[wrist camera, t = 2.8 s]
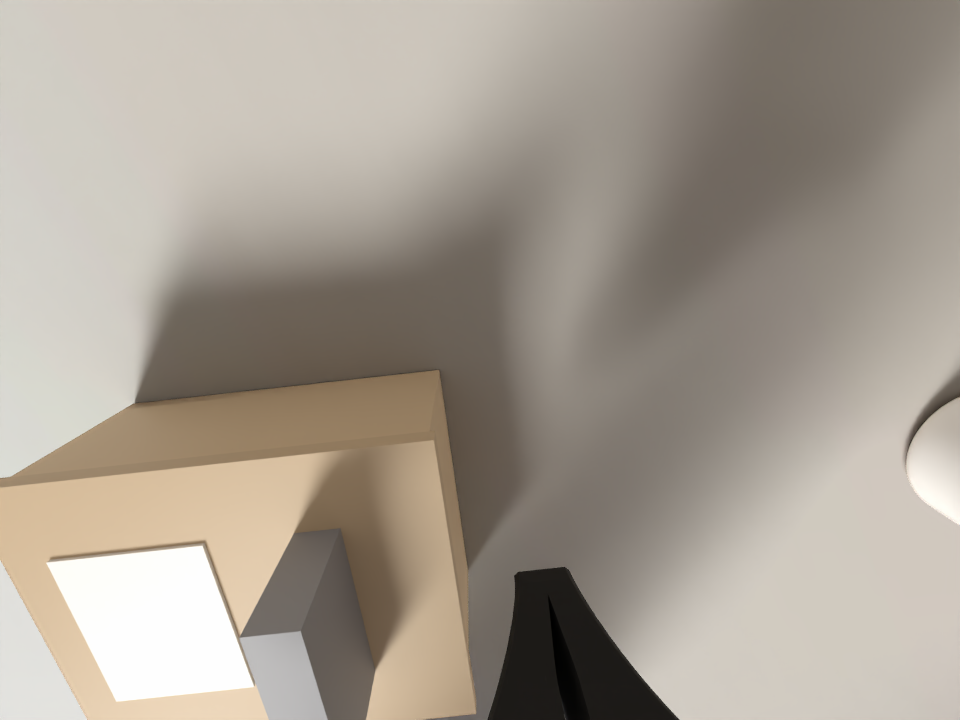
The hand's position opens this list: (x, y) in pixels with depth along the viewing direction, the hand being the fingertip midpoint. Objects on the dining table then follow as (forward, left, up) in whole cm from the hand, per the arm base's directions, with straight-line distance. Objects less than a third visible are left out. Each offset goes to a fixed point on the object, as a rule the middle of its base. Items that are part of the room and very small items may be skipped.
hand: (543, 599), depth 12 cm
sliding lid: (+6, +5, -1) cm, 8 cm away
